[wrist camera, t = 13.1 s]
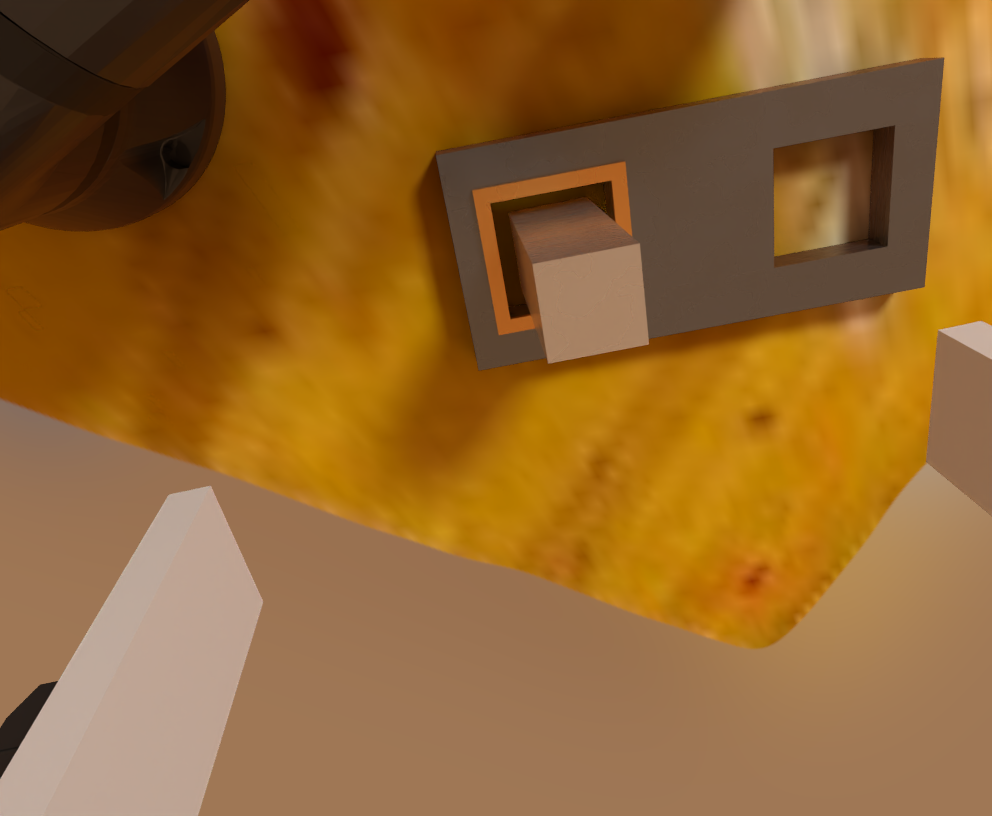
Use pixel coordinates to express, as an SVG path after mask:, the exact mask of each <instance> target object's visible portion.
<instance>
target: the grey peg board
mask: <svg viewBox="0 0 992 816" xmlns="http://www.w3.org/2000/svg"><path fill="white" fill-rule="evenodd" d="M943 66H944V58H920V59H915V60H909V61H904V62H899V63H894V64H889V65H883V66H878V67H873V68H868V69H863V70H857V71H852V72H847V73H842V74H836V75H831V76H826V77H821V78H816V79H810V80H805V81H800V82H795V83H790V84H784V85H779V86H774V87H769V88H764V89H758V90H753V91H748V92H743V93H738V94H732V95H727V96H722V97H717V98H712V99H706V100H701V101H696V102H691V103H686V104H680V105H675V106H670V107H665V108H660V109H654V110H649V111H644V112H639V113H633V114H628V115H623V116H618V117H613V118H607V119H602V120H597V121H592V122H587V123H581V124H576V125H571V126H566V127H561V128H555V129H550V130H545V131H540V132H535V133H529V134H524V135H519V136H514V137H509V138H503V139H498V140H493V141H488V142H483V143H477V144H472V145H467V146H462V147H457V148H451V149H446V150H441V151H436V159H437V164H438V169H439V174H440V179H441V184H442V189H443V194H444V199H445V204H446V209H447V214H448V219H449V224H450V229H451V234H452V239H453V244H454V249H455V254H456V259H457V264H458V269H459V274H460V279H461V284H462V289H463V294H464V299H465V304H466V309H467V314H468V319H469V324H470V329H471V334H472V339H473V344H474V349H475V354H476V359H477V364H478V369H479V370H485V369H490V368H495V367H501V366H506V365H511V364H517V363H522V362H527V361H533V360H538V359H543V358H546V356H545V353H544V351H543V348H542V345H541V342H540V340H539V337H538V334H537V331H536V328H535V326H534V323H533V320H532V317H531V314H530V312H529V309H528V306H527V304H521V305H516V306H511V307H508V303H507V297H506V291H505V285H504V280H503V274H502V268H501V262H500V257H499V251H498V245H497V239H496V234H495V228H494V222H493V216H492V210H491V205H490V203H495V202H501V201H506V200H511V199H516V198H522V197H527V196H532V195H537V194H543V193H548V192H553V191H558V190H564V189H569V188H574V187H579V186H585V185H590V184H595V183H600V182H604V191H605V200H606V210H607V215H608V216H609V217H610V218H611V219H612V220H613V221H615V222H616V223H617V224H618V225H619V226H620V227H622V228H623V229H624V230H625V231H626V232H627V233H628V234H630V235H631V236H632V237H633V238H634V239H635V240H637V241H638V242H639V243H640V251H641V262H642V273H643V284H644V295H645V306H646V317H647V327H648V338H649V339H650V338H656V337H661V336H666V335H672V334H677V333H682V332H688V331H693V330H698V329H704V328H709V327H714V326H720V325H725V324H730V323H736V322H741V321H746V320H752V319H757V318H762V317H768V316H773V315H778V314H784V313H789V312H794V311H800V310H805V309H810V308H816V307H821V306H826V305H832V304H837V303H842V302H848V301H853V300H858V299H864V298H869V297H874V296H880V295H885V294H890V293H896V292H901V291H906V290H912V289H917V288H922V287H925V275H926V263H927V252H928V240H929V229H930V217H931V205H932V194H933V182H934V171H935V159H936V147H937V136H938V124H939V113H940V101H941V89H942V78H943ZM873 129H874V139H873V159H872V179H871V199H870V219H869V239H866V240H861V241H855V242H850V243H845V244H840V245H834V246H829V247H824V248H818V249H813V250H808V251H802V252H797V253H792V254H787V255H781V256H776V257H774V183H773V148H778V147H784V146H789V145H794V144H799V143H805V142H810V141H815V140H820V139H826V138H831V137H836V136H841V135H847V134H852V133H857V132H862V131H867V130H873Z"/></svg>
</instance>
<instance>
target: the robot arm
mask: <svg viewBox="0 0 992 816" xmlns="http://www.w3.org/2000/svg"><path fill="white" fill-rule="evenodd" d="M248 1H249V0H0V230H3V229H6V228H9V227H11V226H14V225H17V224H20V223H22V222H24V223H29V224H33V225H37V226H41V227H46V228H51V229H57V230H64V231H99V230H107V229H114V228H118V227H122V226H126V225H129V224H132V223H135V222H137V221H140V220H142V219H144V218H147V217H149V216H151V215H153V214H155V213H157V212H159V211H161V210H163V209H165V208H166V207H168V206H170V205H171V204H173V203H174V202H176V201H177V200H178V199H179V198H181V197H182V196H183V195H184V194H185V193H186V192H187V191H189V190H190V188H191V187H192V186H193V185H194V184H195V183H196V182H197V180H198V179H199V178H200V177H201V175H202V174H203V172H204V171H205V169H206V168H207V166H208V164H209V162H210V160H211V158H212V156H213V154H214V152H215V149H216V147H217V144H218V141H219V138H220V135H221V130H222V126H223V120H224V114H225V102H226V88H225V75H224V67H223V61H222V57H221V52H220V48H219V44H218V41H217V38H216V35H215V32H214V30H215V29H216V28H218V27H219V26H220V25H221V24H222V23H223V22H225V21H226V20H227V19H228V18H229V17H230V16H232V15H233V14H234V13H235V12H236V11H237V10H239V9H240V8H241V7H242V6H243V5H245V4H246V3H247V2H248ZM926 462H927V463H928V464H929V465H931V466H932V467H933V468H934V469H935V470H937V471H938V472H939V473H940V474H941V475H943V476H944V477H945V478H946V479H947V480H949V481H950V482H951V483H952V484H953V485H955V486H956V487H957V488H958V489H960V490H961V491H962V492H963V493H964V494H966V495H967V496H968V497H969V498H970V499H972V500H973V501H974V502H975V503H976V504H978V505H979V506H980V507H981V508H982V509H984V510H985V511H986V512H988V513H989V514H990V515H991V516H992V326H991V325H989V324H987V323H984V322H982V321H979V322H974V323H969V324H965V325H960V326H955V327H951V328H946V329H941V330H938V338H937V349H936V360H935V371H934V382H933V393H932V404H931V415H930V426H929V437H928V448H927V459H926ZM262 604H263V600H262V598H261V596H260V594H259V592H258V590H257V587H256V585H255V583H254V581H253V579H252V576H251V574H250V572H249V570H248V567H247V565H246V563H245V561H244V559H243V556H242V554H241V552H240V550H239V548H238V545H237V543H236V541H235V539H234V536H233V534H232V532H231V530H230V528H229V525H228V523H227V521H226V519H225V516H224V514H223V512H222V510H221V508H220V505H219V504H218V501H217V499H216V497H215V494H214V492H213V490H212V488H211V486H207V487H202V488H198V489H193V490H188V491H184V492H179V493H174V494H170V495H168V497H167V499H166V501H165V502H164V504H163V505H162V507H161V509H160V510H159V512H158V514H157V515H156V517H155V519H154V521H153V522H152V524H151V526H150V527H149V529H148V531H147V532H146V534H145V536H144V537H143V539H142V541H141V542H140V544H139V546H138V548H137V550H136V551H135V553H134V554H133V556H132V558H131V559H130V561H129V563H128V565H127V566H126V568H125V569H124V571H123V573H122V575H121V576H120V578H119V580H118V581H117V583H116V585H115V586H114V588H113V590H112V591H111V593H110V595H109V596H108V598H107V600H106V602H105V603H104V605H103V607H102V608H101V610H100V612H99V614H98V615H97V617H96V618H95V620H94V622H93V624H92V625H91V627H90V628H89V630H88V632H87V634H86V635H85V637H84V639H83V640H82V642H81V644H80V645H79V647H78V649H77V650H76V652H75V654H74V655H73V657H72V659H71V661H70V662H69V664H68V666H67V667H66V669H65V671H64V672H63V674H62V676H61V677H60V679H59V681H56V682H51V683H46V684H41V685H40V686H38V688H36V689H35V690H34V691H33V692H32V693H31V694H30V695H29V696H28V698H26V699H25V700H24V701H23V702H22V703H21V704H20V705H19V706H18V707H17V708H16V709H15V710H14V711H13V712H12V713H11V714H10V715H9V716H8V717H7V718H6V720H5V722H4V723H3V725H2V726H1V728H0V816H198V814H199V810H200V807H201V804H202V801H203V797H204V794H205V791H206V787H207V784H208V781H209V777H210V774H211V771H212V768H213V765H214V761H215V758H216V755H217V751H218V748H219V745H220V742H221V738H222V735H223V732H224V729H225V725H226V722H227V719H228V715H229V712H230V709H231V706H232V702H233V699H234V695H235V693H236V689H237V686H238V683H239V679H240V676H241V673H242V669H243V666H244V663H245V659H246V657H247V653H248V650H249V647H250V643H251V640H252V637H253V634H254V630H255V627H256V624H257V621H258V617H259V614H260V610H261V607H262Z"/></svg>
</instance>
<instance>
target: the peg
mask: <svg viewBox="0 0 992 816" xmlns="http://www.w3.org/2000/svg"><path fill="white" fill-rule="evenodd" d="M508 213H509V219H510V225H511V231H512V237H513V243H514V249H515V255H516V261H517V267H518V273H519V279H520V285H521V289H522V292H523V295H524V298H525V301H526V303H527V306H528V309H529V312H530V314H531V317H532V320H533V323H534V326H535V328H536V331H537V334H538V337H539V340H540V342H541V345H542V348H543V351H544V353H545V356H546V359H547V362H548V364H549V363H554V362H560V361H565V360H570V359H575V358H581V357H586V356H591V355H596V354H602V353H607V352H612V351H617V350H623V349H628V348H633V347H638V346H643V345H649V338H648V327H647V317H646V306H645V295H644V284H643V273H642V262H641V251H640V243H639V242H638V241H637V240H635V239H634V238H633V237H632V236H631V235H630V234H628V233H627V232H626V231H625V230H624V229H623V228H622V227H620V226H619V225H618V224H617V223H616V222H615V221H613V220H612V219H611V218H610V217H609V216H608V215H607V214H605V213H604V212H603V211H602V210H601V209H600V208H599V207H597V206H596V205H595V204H594V203H593V202H592V201H590V200H589V199H588V198H587V197H583V198H578V199H573V200H568V201H563V202H558V203H553V204H548V205H542V206H537V207H532V208H527V209H522V210H517V211H512V212H508Z"/></svg>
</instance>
